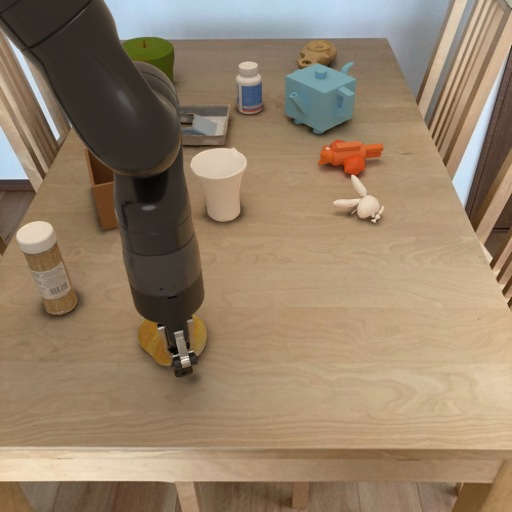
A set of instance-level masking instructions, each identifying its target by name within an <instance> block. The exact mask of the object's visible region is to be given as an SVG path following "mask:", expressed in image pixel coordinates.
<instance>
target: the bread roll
mask: <svg viewBox="0 0 512 512" xmlns="http://www.w3.org/2000/svg"><path fill="white" fill-rule="evenodd" d="M192 316H193V320H194V326H195V329H194V330H193V336H194V345H193V346H192V347H191V349H194V353H195V354H196V356H198V357H199V356H200V355H201V354H202V352H203V350H204V348H205V346H206V345H207V344H206V343H207V340H208V334H207V331H208V330H207V328H206V324H205V322H204V321H203V319H202V318H200V317H199V316H198V315H196V313H194V314H193V315H192ZM137 340H138V343H139V345H140V346H141V347H142V349H143V350H144V351H145V352H146V353H148V354H149V355H150V356H151V357H152V359H153V360H154V361H155V362H156V363H157V364H159V365H160V366H165V367H170V366H171V363H172V362H171V359H169V355H170V354H169V352H165V350H164V346H163V342H162V338H160V337H159V333H158V329H157V324H156V323H155V322H152V321H149V320H147V319H145V318H144V317H143V319H142V320H141V321H140V325H139V328H138V329H137ZM171 367H172V366H171Z"/></svg>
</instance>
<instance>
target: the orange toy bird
mask: <svg viewBox="0 0 512 512" xmlns="http://www.w3.org/2000/svg"><path fill="white" fill-rule="evenodd" d="M384 149H385V147H384V145H383V142H380V143H369V144H364V143H363V142H361V141H360V140H357V141H344V140H342V139H339V138H338V139H336V140H334V141H333V142H331V143H330V144H329V145H328V144H324V145H323V146H322V149H321V151H320V152H319V155H320V158H319V160H318V162H317V165H318V166H322V165H324V164H331V166H333V167H337V166H343V168H344V170H343V172H344V173H345V174H348V175H350V176H351V175H355V176H357V175H358V174H359V173H361V172H363V171H365V170H366V167H367V165H366V159H374V158H381V157H382V152H383V151H384Z"/></svg>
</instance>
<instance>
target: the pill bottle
mask: <svg viewBox="0 0 512 512" xmlns="http://www.w3.org/2000/svg"><path fill="white" fill-rule="evenodd" d="M262 78H263V77H262V76H261V74H260V73H259V65H258V63H257V62H255V61H243V62H241V63H239V64H238V74H237V75H236V77H235V86H236V87H235V89H236V105H237V106H236V107H237V110H238V111H239V112H240V113H241V114H245V115H254V114H258V113H259V112H261V111H262V110H263V80H262Z"/></svg>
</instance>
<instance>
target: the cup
mask: <svg viewBox="0 0 512 512" xmlns="http://www.w3.org/2000/svg"><path fill="white" fill-rule="evenodd" d="M247 167H248V161H247V158H246V156H245V155H244V154H243V153H241V152H239V151H238V150H237V149H236V147H231V148H226V147H216V148H208V149H205V150H203V151H201V152H199V153H197V154H196V155H194V156H193V157H192V159H191V160H190V170H191V172H192V174H193V175H194V177H195V178H196V179H197V181H198V183H199V185H200V187H201V190H202V193H203V196H204V199H205V204H206V213H207V215H208V216H209V217H210V218H211V219H212V220H214V221H216V222H222V223H224V222H230V221H233V220H235V219H236V218H238V216H239V215H240V213H241V203H240V187H241V184H242V179H243V175H244V174H245V171H246V169H247Z"/></svg>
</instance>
